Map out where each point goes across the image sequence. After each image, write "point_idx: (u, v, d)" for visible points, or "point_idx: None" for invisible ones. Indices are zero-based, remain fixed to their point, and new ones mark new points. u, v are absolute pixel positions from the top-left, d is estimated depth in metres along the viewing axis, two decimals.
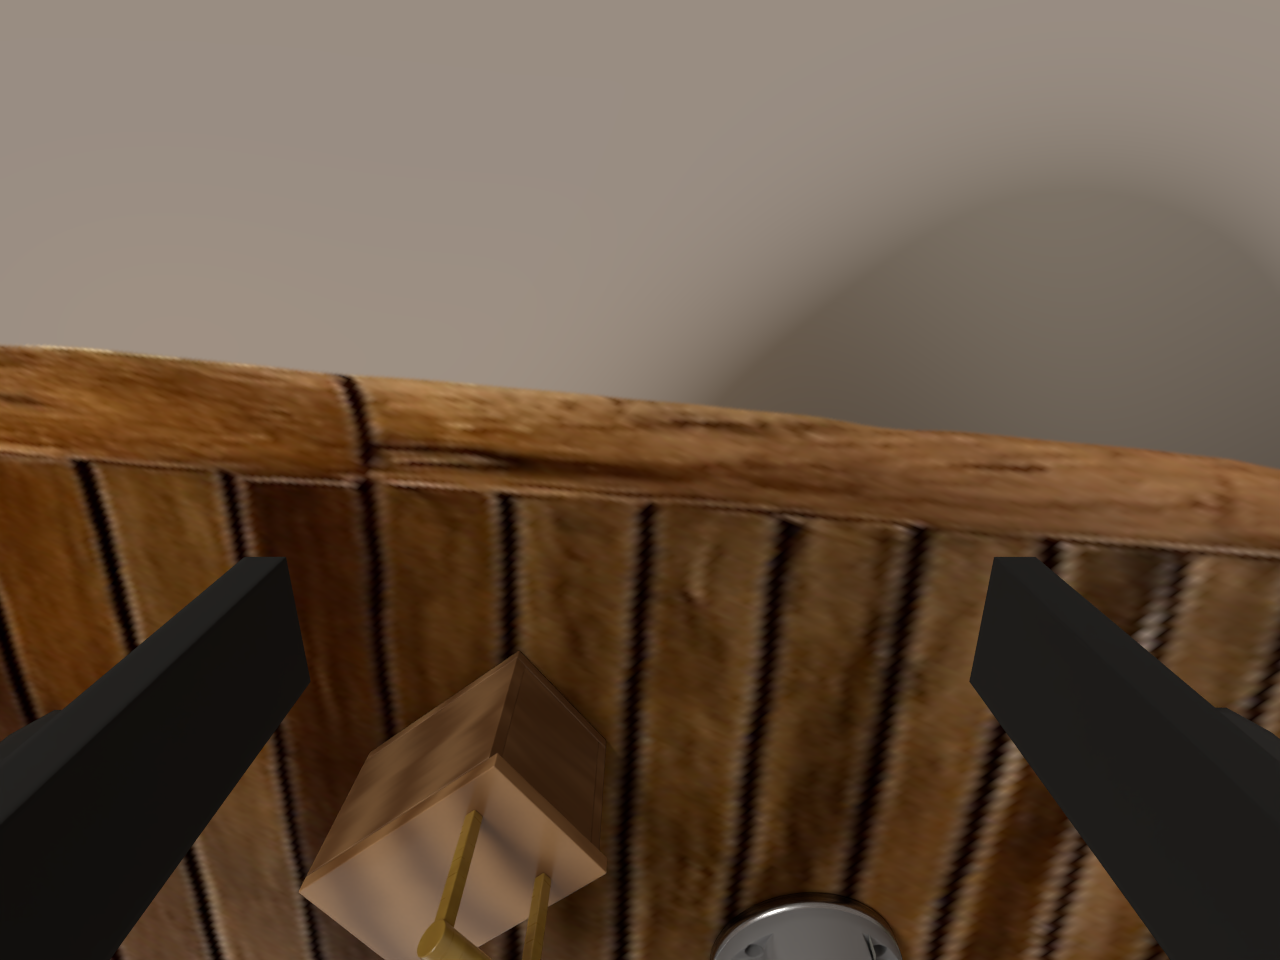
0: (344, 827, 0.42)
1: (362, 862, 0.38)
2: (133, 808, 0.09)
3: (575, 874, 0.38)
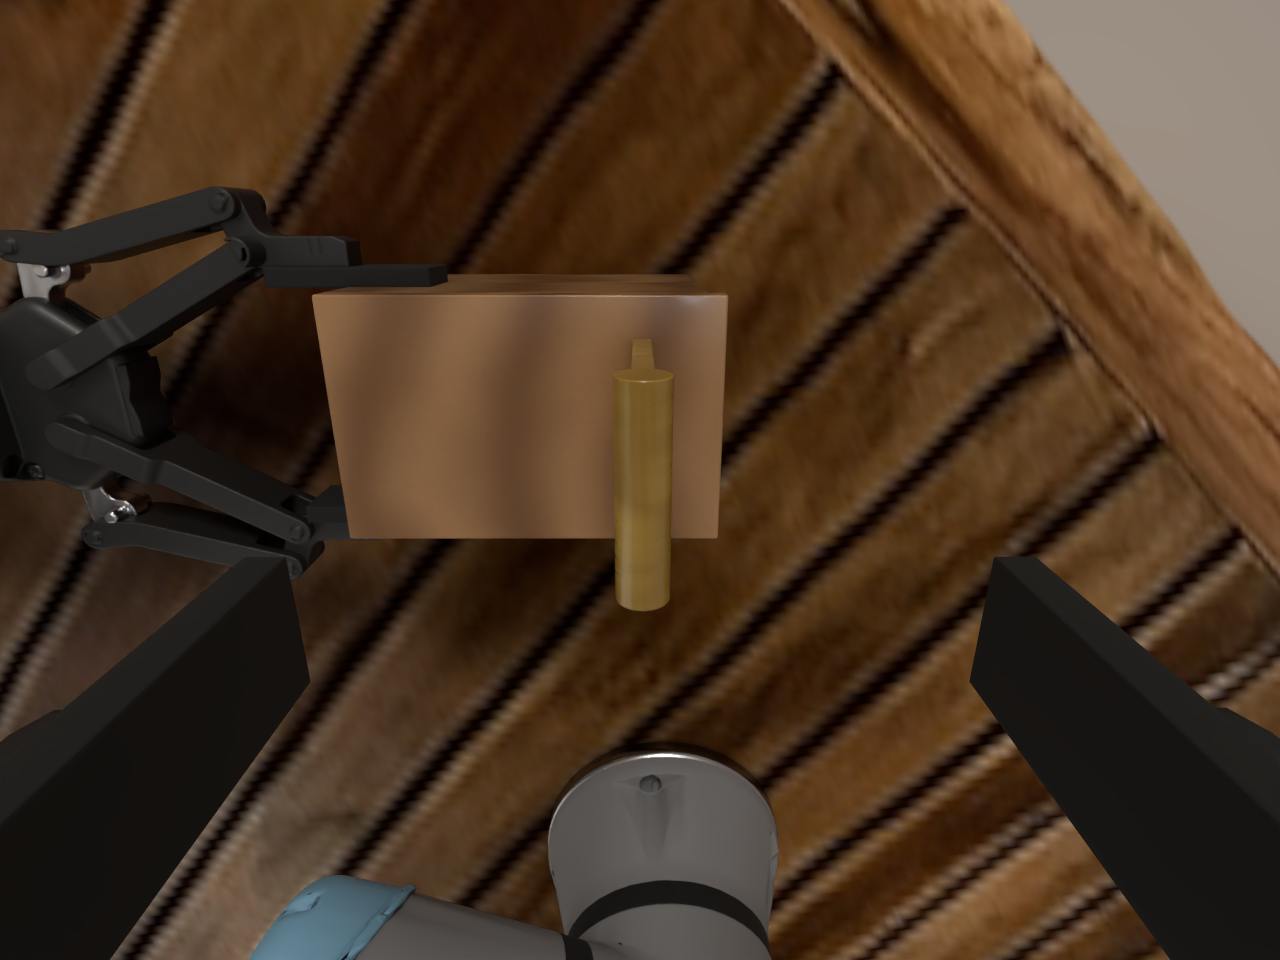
0: None
1: (440, 312, 0.24)
2: (133, 808, 0.09)
3: (681, 516, 0.27)
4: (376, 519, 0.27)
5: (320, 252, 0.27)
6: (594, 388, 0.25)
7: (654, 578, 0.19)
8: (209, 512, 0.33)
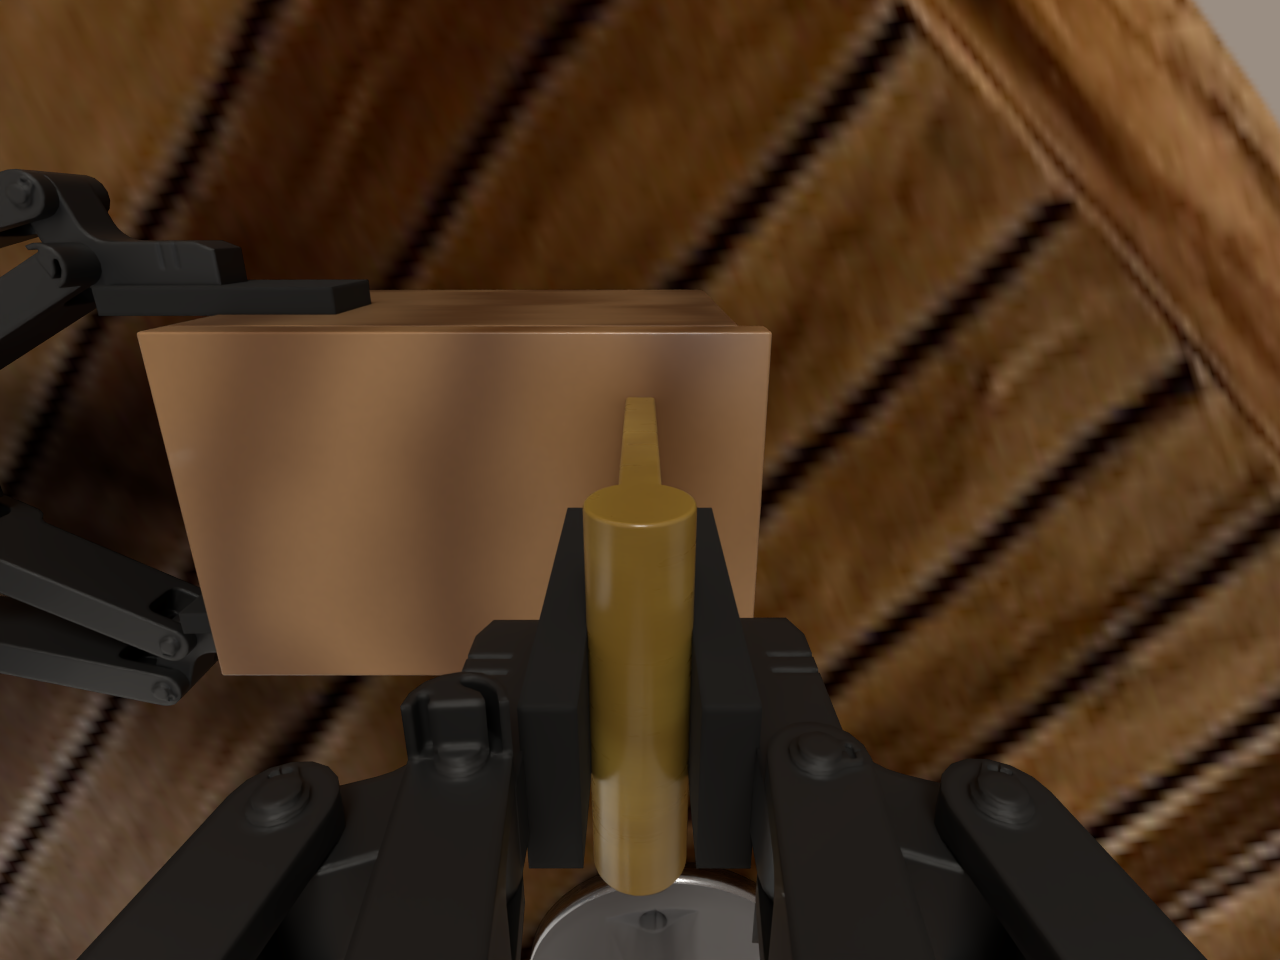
0: None
1: (334, 358, 0.16)
2: None
3: None
4: (257, 650, 0.19)
5: (178, 264, 0.19)
6: (569, 468, 0.17)
7: (660, 844, 0.11)
8: None
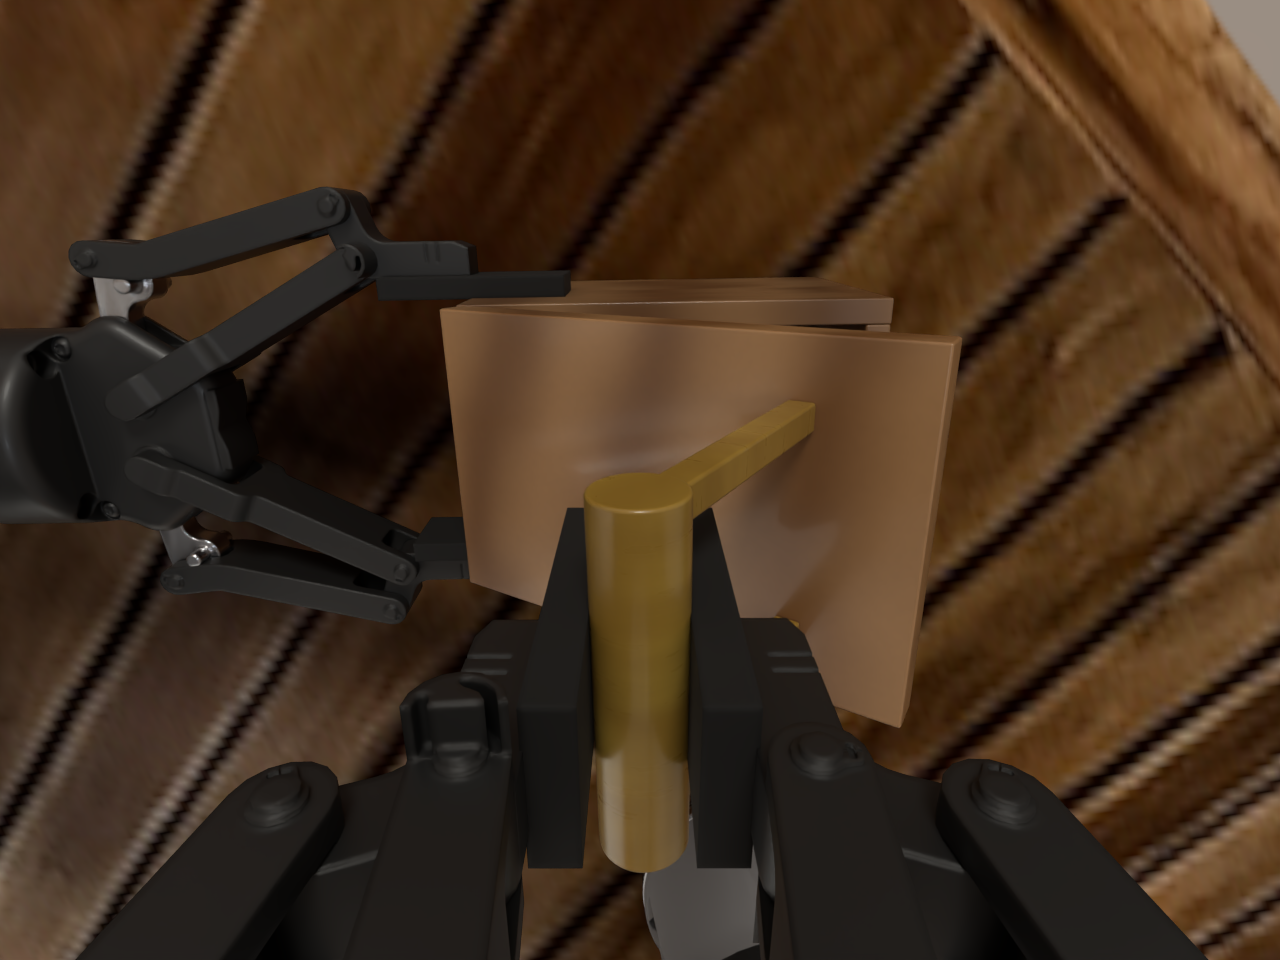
0: None
1: (554, 338, 0.19)
2: (590, 691, 0.11)
3: (843, 677, 0.17)
4: (491, 568, 0.23)
5: (438, 259, 0.24)
6: None
7: (638, 826, 0.11)
8: (296, 549, 0.30)
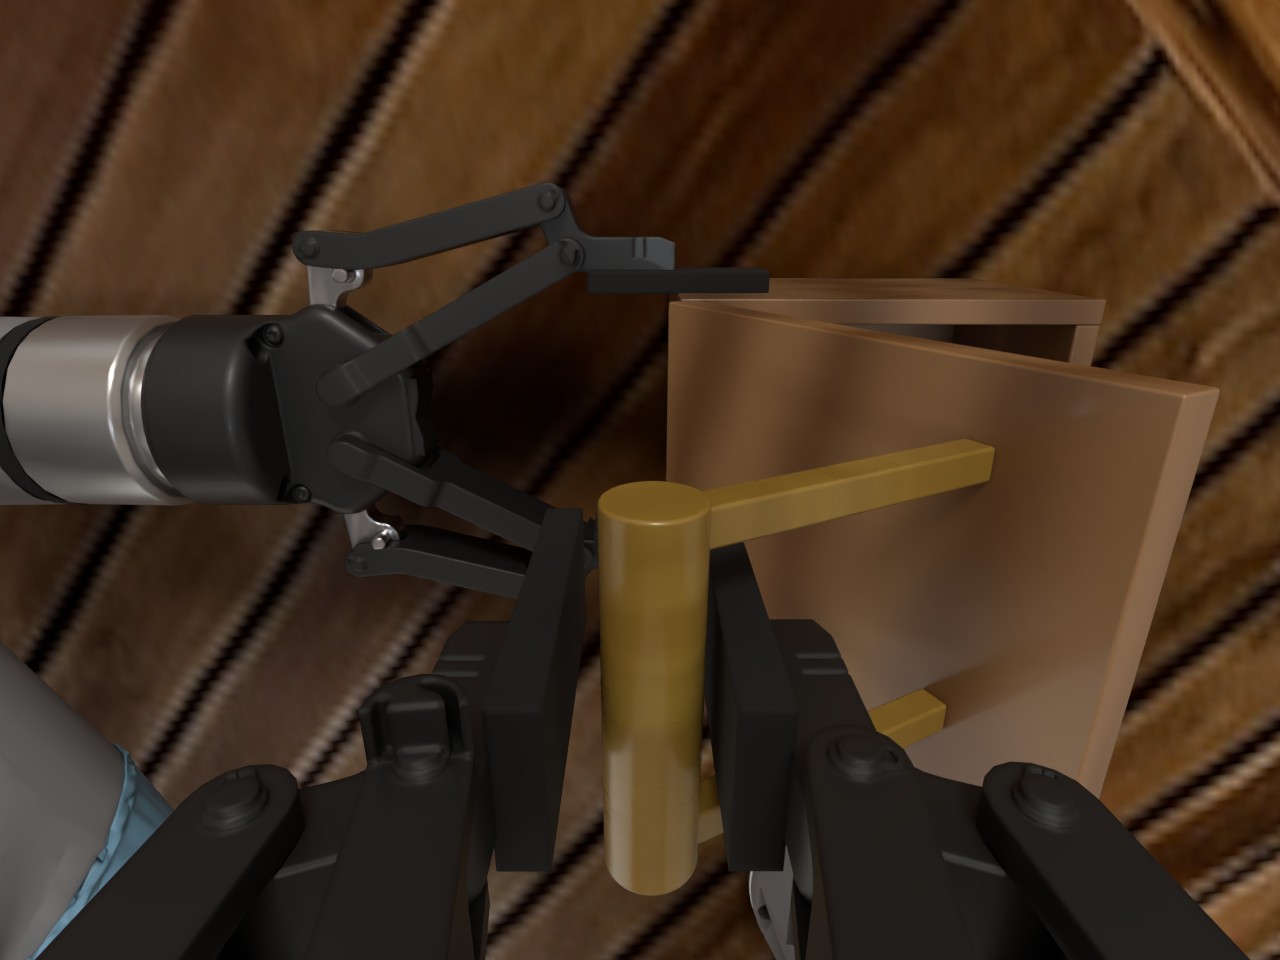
0: None
1: (752, 340, 0.18)
2: (562, 693, 0.11)
3: None
4: None
5: (645, 255, 0.25)
6: None
7: (624, 840, 0.11)
8: (464, 535, 0.31)
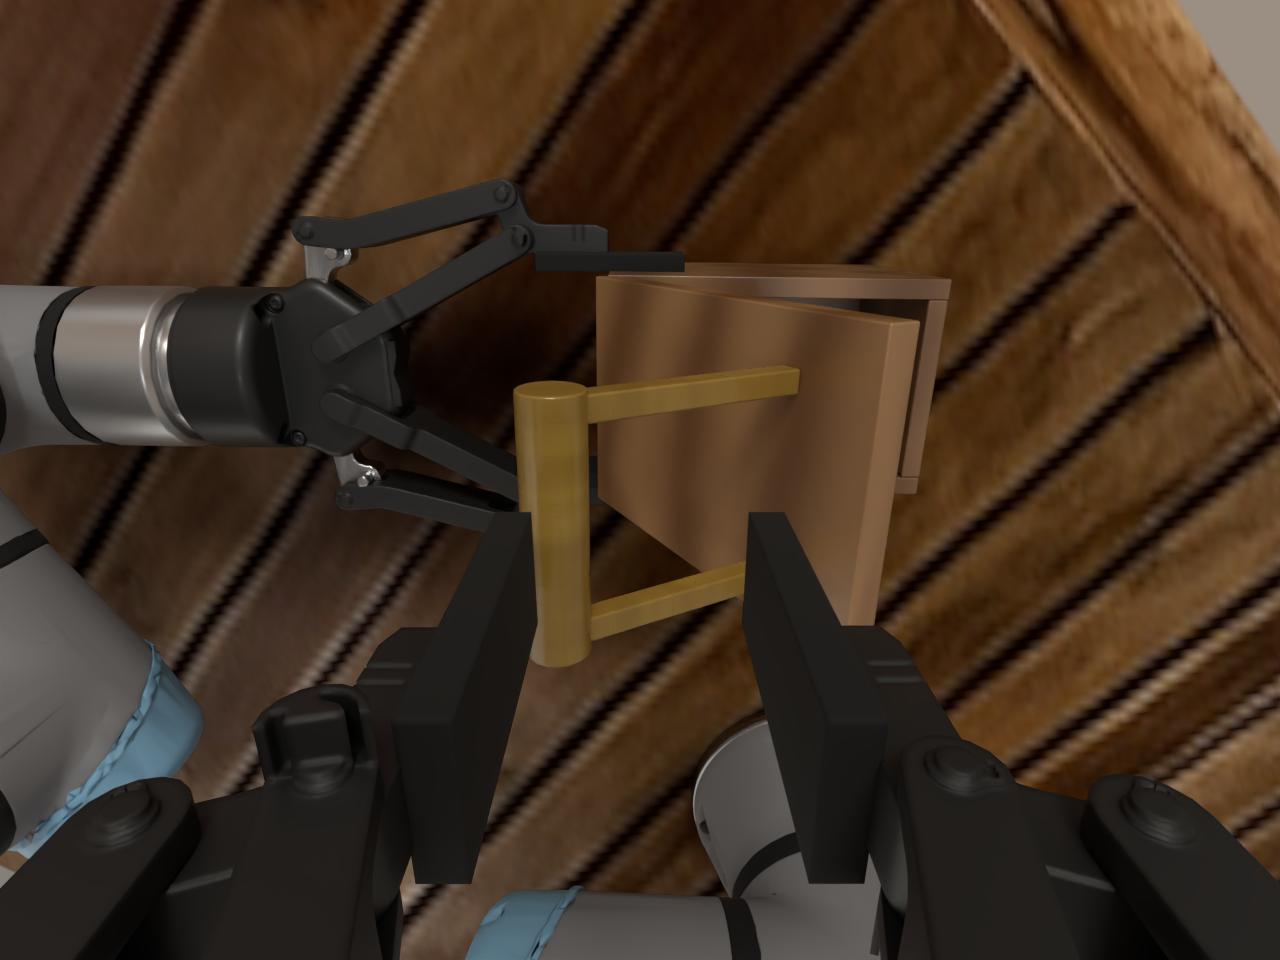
0: None
1: (654, 303, 0.24)
2: (493, 701, 0.11)
3: None
4: (609, 487, 0.29)
5: (583, 239, 0.30)
6: (746, 416, 0.20)
7: (537, 628, 0.16)
8: (436, 479, 0.36)
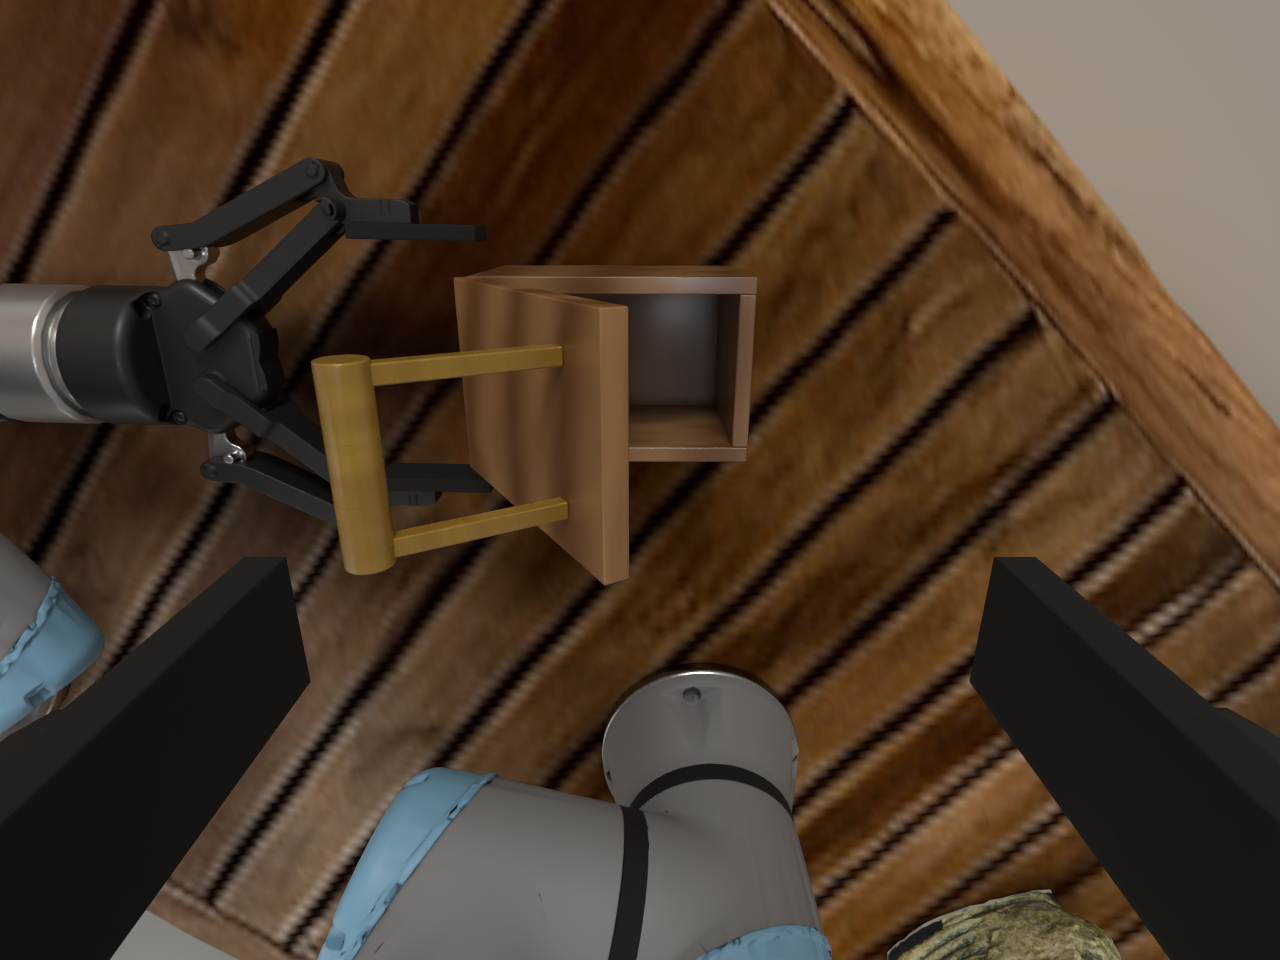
0: (511, 273, 0.35)
1: (486, 299, 0.29)
2: (134, 808, 0.09)
3: (584, 544, 0.25)
4: (475, 457, 0.34)
5: (389, 211, 0.35)
6: (540, 387, 0.26)
7: (346, 544, 0.22)
8: (299, 468, 0.42)
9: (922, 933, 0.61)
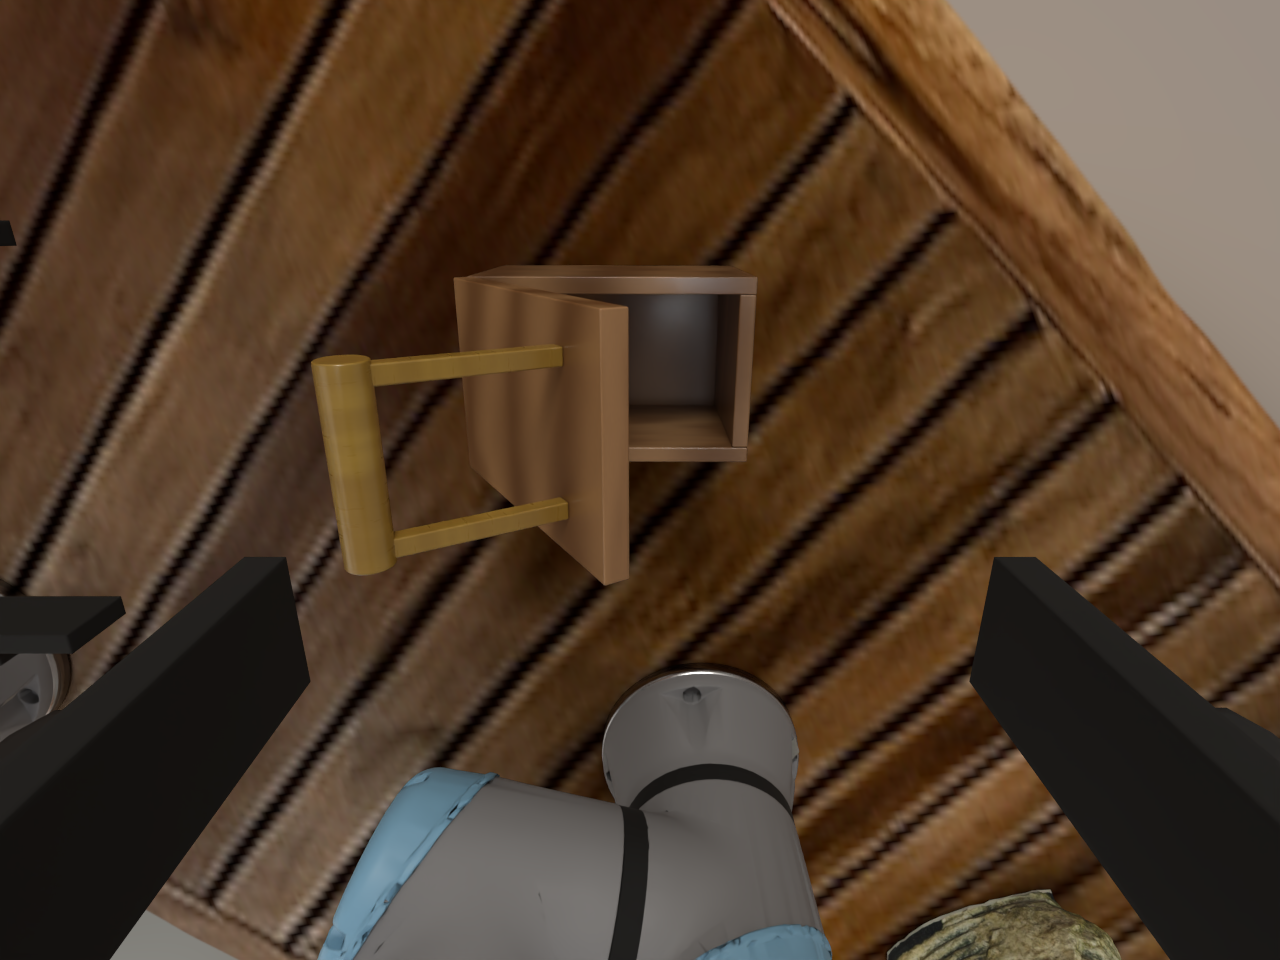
0: (511, 273, 0.35)
1: (486, 299, 0.29)
2: (134, 808, 0.09)
3: (584, 545, 0.25)
4: (475, 457, 0.34)
5: None
6: (540, 387, 0.26)
7: (346, 544, 0.22)
8: None
9: (922, 933, 0.61)
